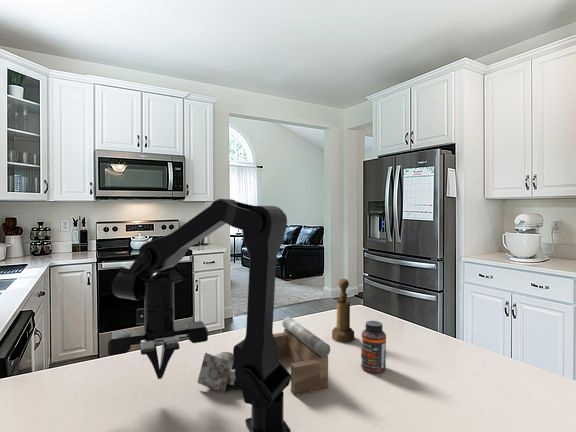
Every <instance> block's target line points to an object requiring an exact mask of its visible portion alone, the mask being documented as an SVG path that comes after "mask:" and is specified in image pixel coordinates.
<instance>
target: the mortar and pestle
mask: <svg viewBox="0 0 576 432" xmlns="http://www.w3.org/2000/svg"><path fill="white" fill-rule="evenodd" d="M338 286H339V289H340V293H339V299H340V300H337V301H336V326H335V327H334V328H333V329H332V331H331V338H332V340H333V341H335V342H339V343H351V342H354V341H355V330H354V329H352V328H351V323H350V322H351V302H350V301H349V300H347V298H348V293H347V289H348V287H349V280H348V279H347V278H341V279H339V281H338Z"/></svg>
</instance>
